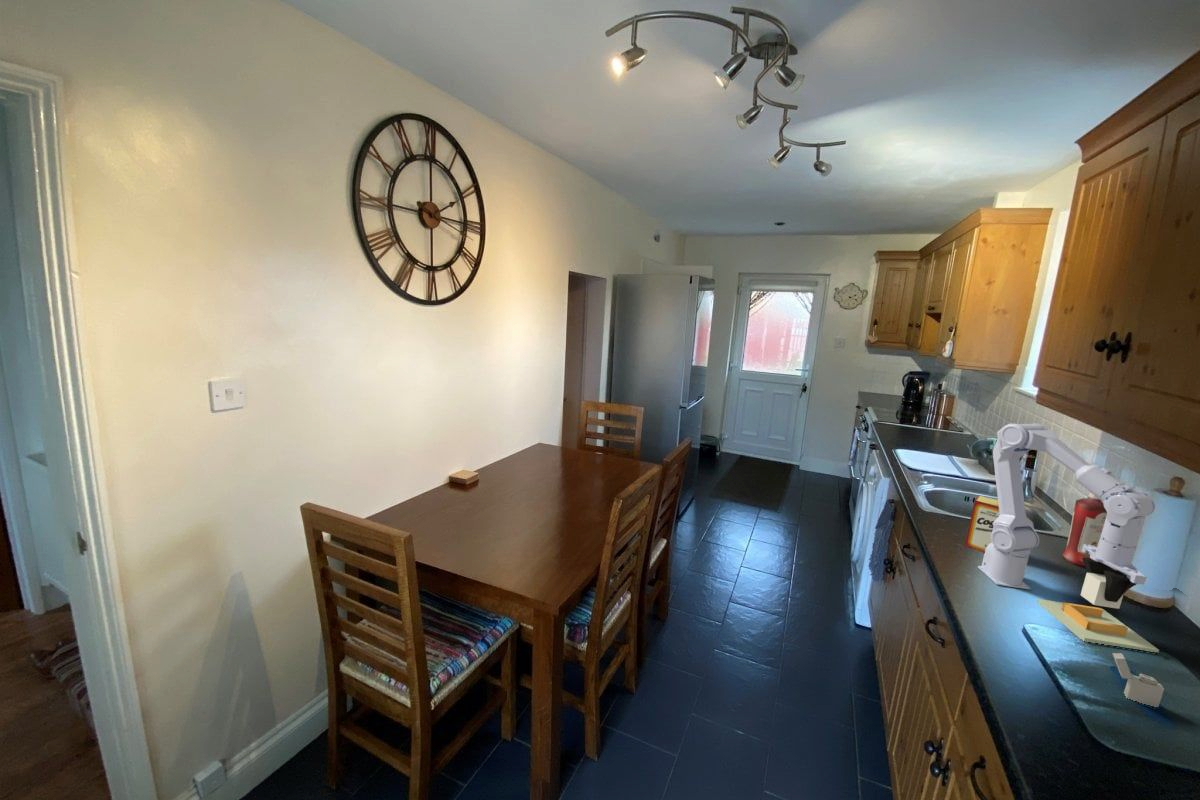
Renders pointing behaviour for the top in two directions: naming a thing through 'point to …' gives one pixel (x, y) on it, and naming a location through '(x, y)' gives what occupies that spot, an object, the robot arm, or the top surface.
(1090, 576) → the chute block
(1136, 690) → the lighter
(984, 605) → the top surface
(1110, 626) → the deck
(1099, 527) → the liquor
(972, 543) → the baking soda box
